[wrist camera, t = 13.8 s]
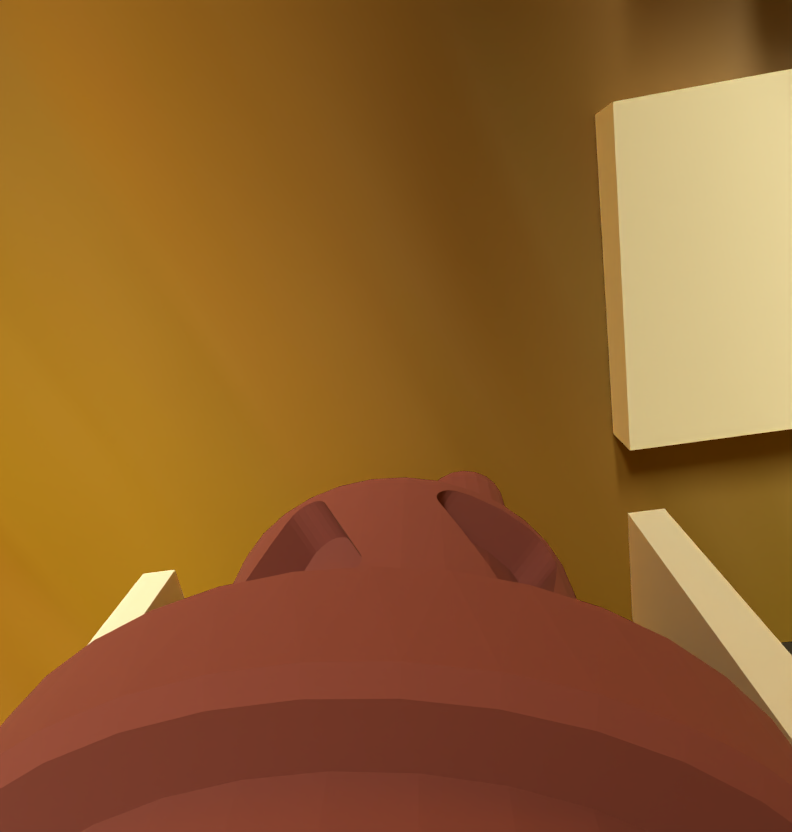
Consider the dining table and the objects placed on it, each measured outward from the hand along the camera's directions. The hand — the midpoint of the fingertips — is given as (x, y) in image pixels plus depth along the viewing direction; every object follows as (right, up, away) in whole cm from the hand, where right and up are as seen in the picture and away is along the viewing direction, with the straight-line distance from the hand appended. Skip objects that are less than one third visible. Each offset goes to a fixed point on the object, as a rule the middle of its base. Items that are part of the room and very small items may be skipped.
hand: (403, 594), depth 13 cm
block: (+12, +9, +3) cm, 15 cm away
